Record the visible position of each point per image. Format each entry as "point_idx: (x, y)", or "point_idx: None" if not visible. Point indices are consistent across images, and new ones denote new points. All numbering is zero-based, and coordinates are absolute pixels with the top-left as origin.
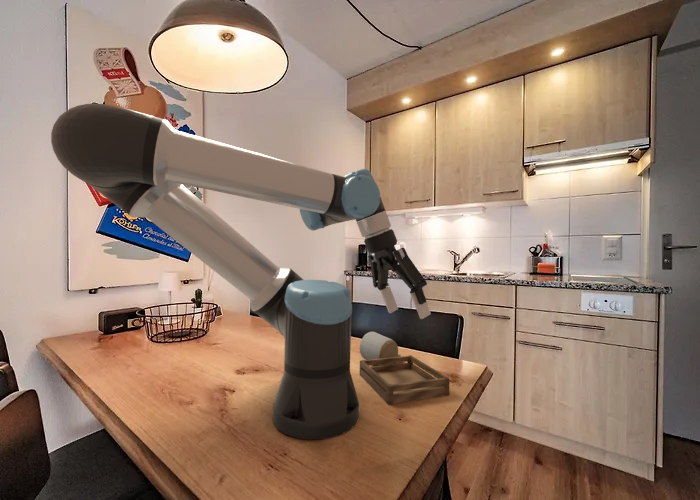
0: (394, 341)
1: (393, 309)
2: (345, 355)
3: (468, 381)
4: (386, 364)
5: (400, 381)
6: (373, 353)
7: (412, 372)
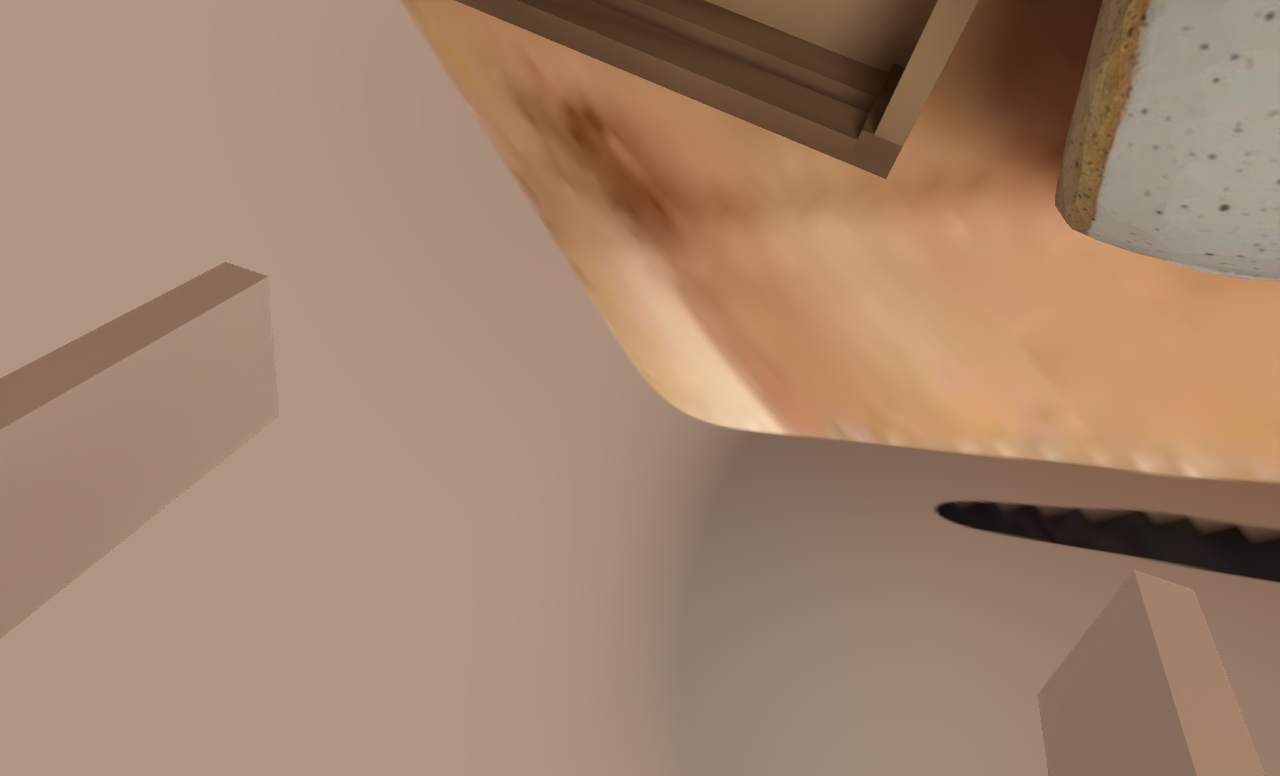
0: (1079, 222)
1: (1093, 663)
2: None
3: (546, 187)
4: None
5: None
6: None
7: (811, 8)
